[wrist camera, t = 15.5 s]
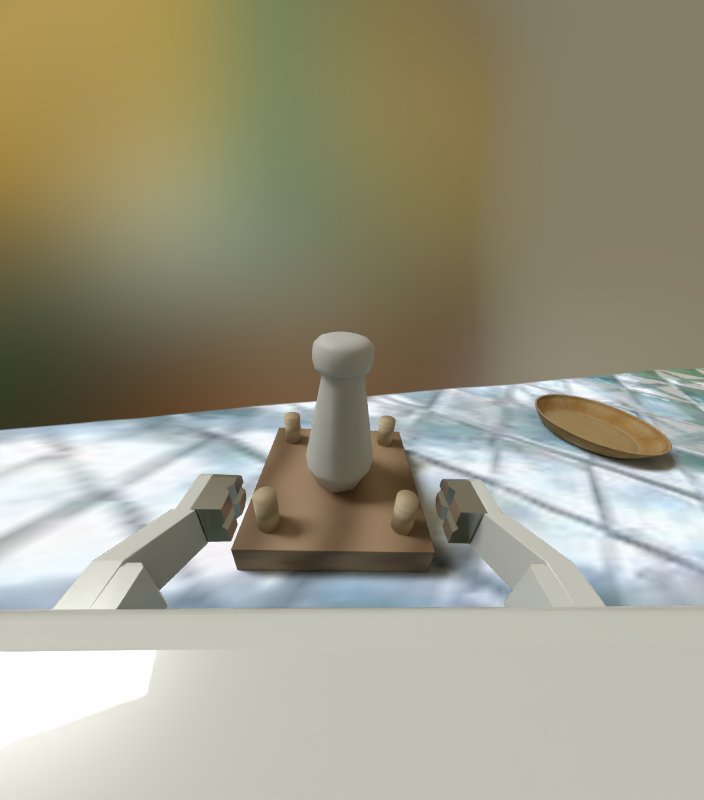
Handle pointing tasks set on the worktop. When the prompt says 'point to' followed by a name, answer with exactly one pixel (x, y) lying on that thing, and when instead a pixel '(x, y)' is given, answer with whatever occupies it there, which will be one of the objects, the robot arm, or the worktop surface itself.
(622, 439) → the plant saucer
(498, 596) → the worktop surface
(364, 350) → the salt shaker
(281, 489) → the peg stand
